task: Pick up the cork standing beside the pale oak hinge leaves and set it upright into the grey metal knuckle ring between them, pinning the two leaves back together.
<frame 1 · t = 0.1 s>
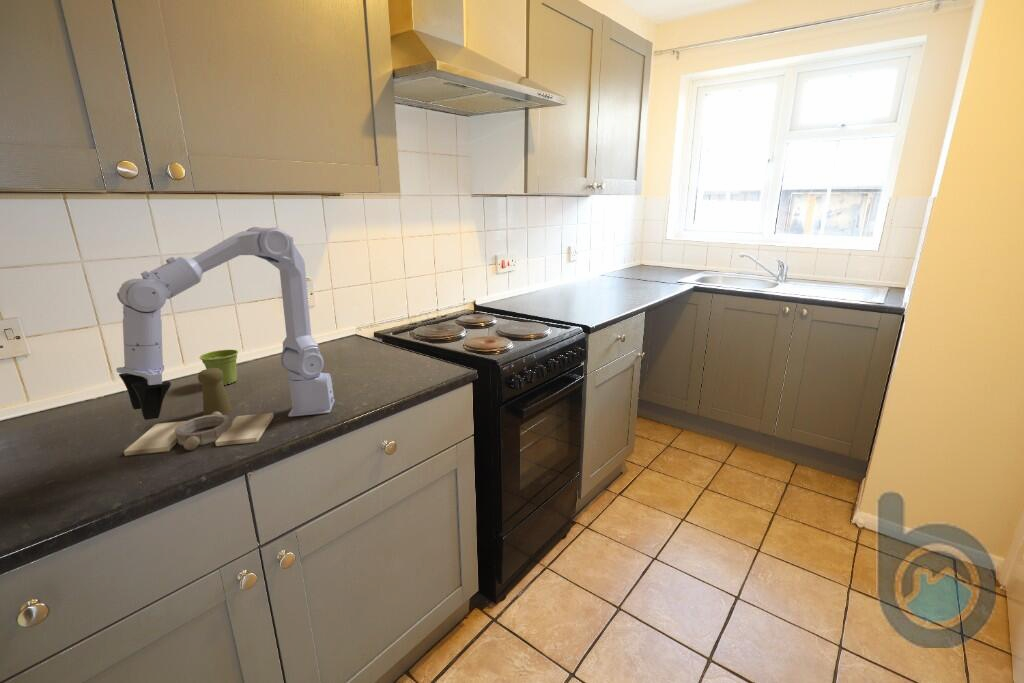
hand: (145, 413, 92), 11 cm above the worktop, tool pointing down, fingers open, 7 cm apart
plant pot: (225, 383, 137), on the worktop
cork: (218, 412, 118), on the worktop
hinge base: (205, 434, 106), on the worktop
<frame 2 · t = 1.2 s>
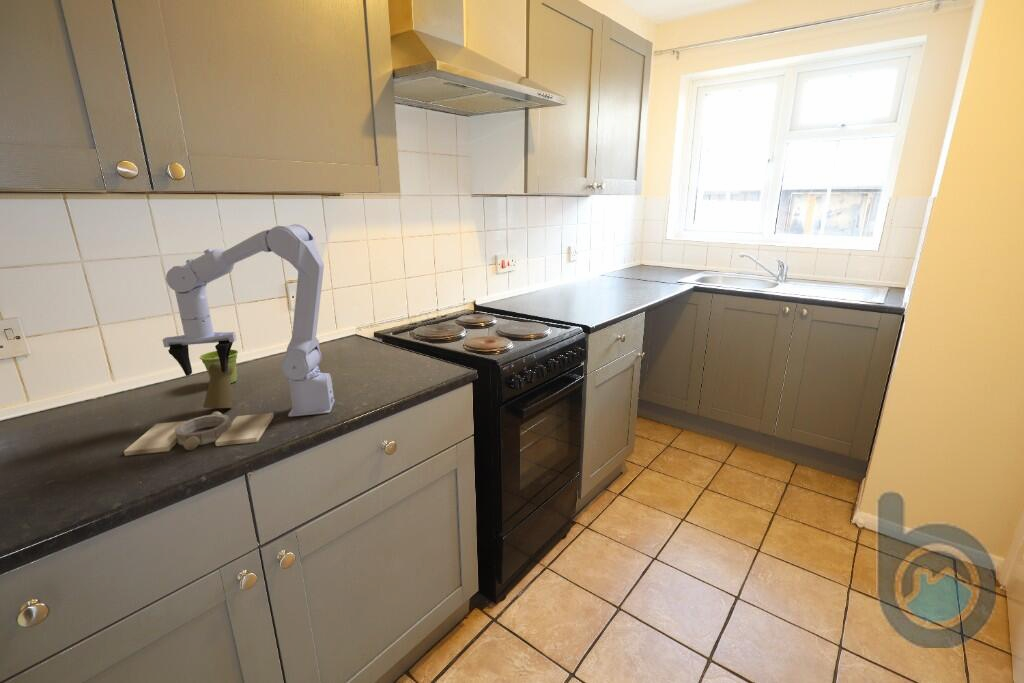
hand: (207, 372, 114), 10 cm above the worktop, tool pointing down, fingers open, 7 cm apart
cork: (217, 408, 118), point 1 cm above the worktop
everything else where it was.
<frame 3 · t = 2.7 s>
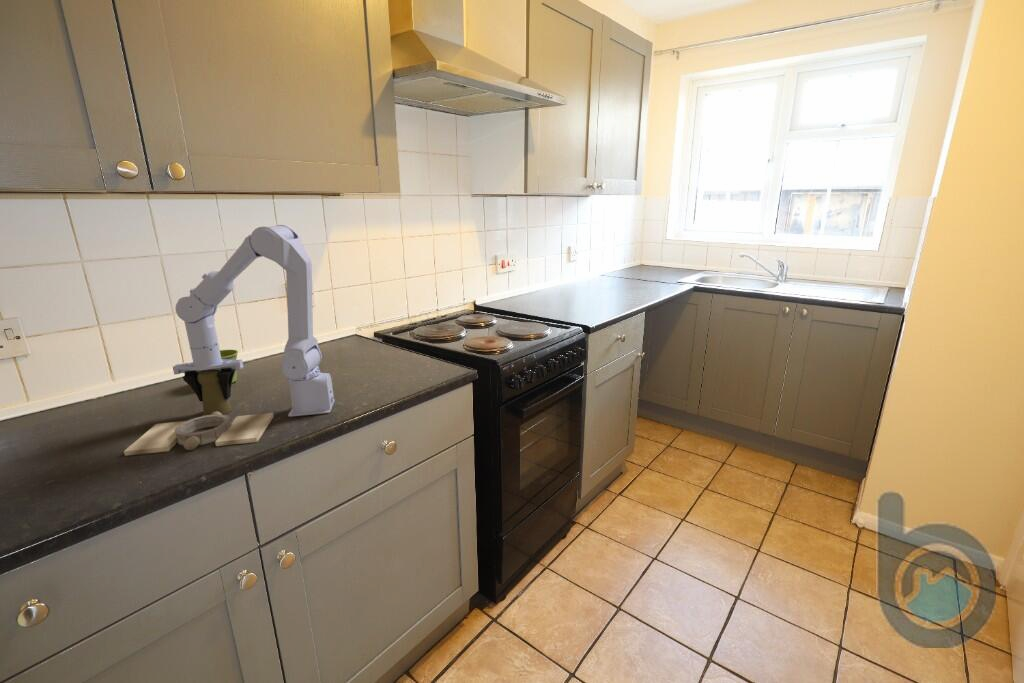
hand: (215, 398, 117), 3 cm above the worktop, tool pointing down, fingers closed on cork, 5 cm apart
cork: (218, 412, 118), on the worktop, touching gripper
everything else where it was.
when the fingers open (5 cm above the worktop, at t = 6.3 s): cork stays where it is, resting in hinge base.
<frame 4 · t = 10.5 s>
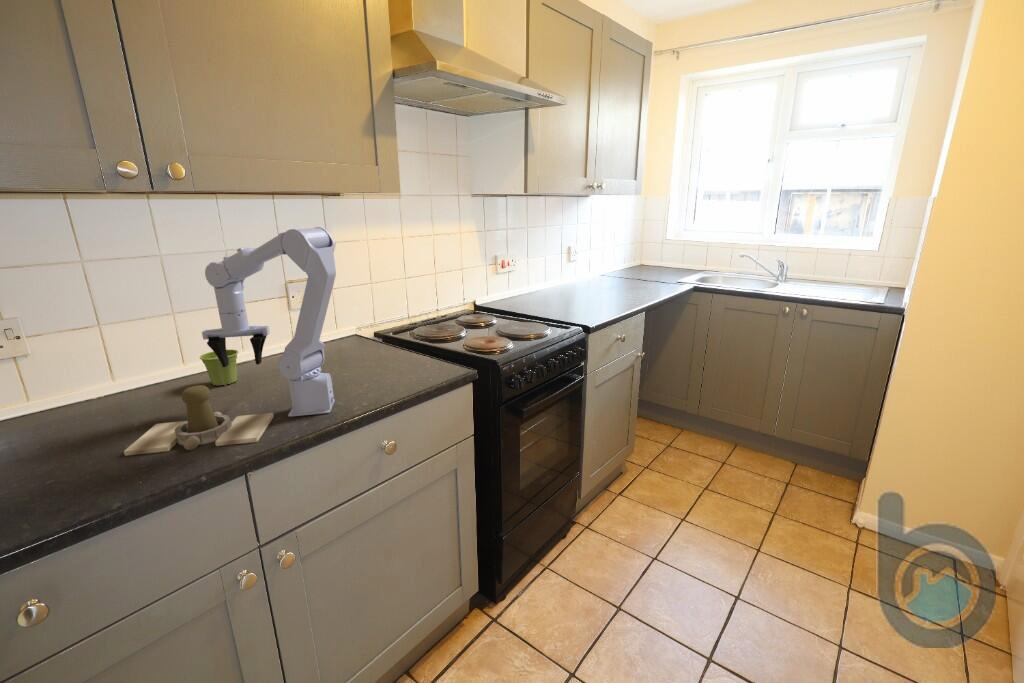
hand: (242, 364, 120), 10 cm above the worktop, tool pointing down, fingers open, 7 cm apart
cork: (204, 434, 106), resting in hinge base
everything else where it was.
at the end: cork 0.7 cm from the hinge base (horizontally); cork tilted 0°; the gripper is holding nothing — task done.
